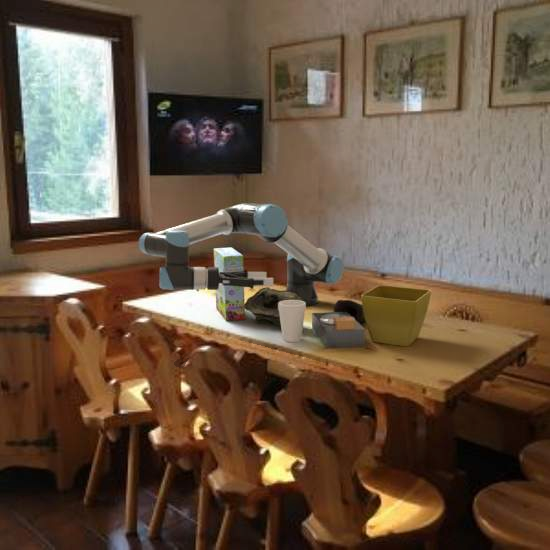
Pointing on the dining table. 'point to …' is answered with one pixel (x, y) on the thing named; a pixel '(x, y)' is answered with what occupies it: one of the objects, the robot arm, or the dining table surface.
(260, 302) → the moss-covered rock
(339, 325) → the block
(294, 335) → the foam cup
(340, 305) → the pipe
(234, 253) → the snack box
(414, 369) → the dining table surface
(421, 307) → the flower pot
